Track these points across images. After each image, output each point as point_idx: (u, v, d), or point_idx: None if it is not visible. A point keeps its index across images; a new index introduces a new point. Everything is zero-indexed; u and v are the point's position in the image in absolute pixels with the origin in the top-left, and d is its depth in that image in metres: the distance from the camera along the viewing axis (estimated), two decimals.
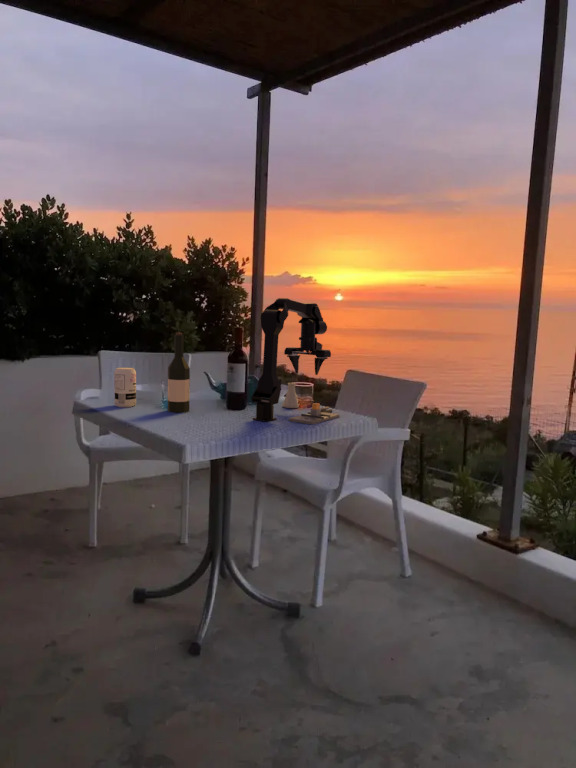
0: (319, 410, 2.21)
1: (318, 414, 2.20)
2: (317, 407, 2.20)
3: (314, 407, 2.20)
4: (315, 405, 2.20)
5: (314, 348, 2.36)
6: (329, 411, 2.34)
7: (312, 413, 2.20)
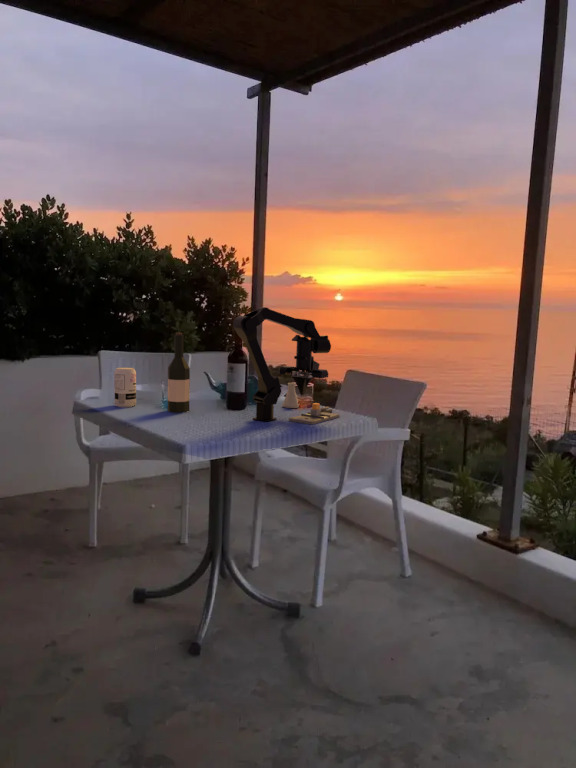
0: (319, 410, 2.21)
1: (318, 414, 2.20)
2: (317, 407, 2.20)
3: (314, 407, 2.20)
4: (315, 405, 2.20)
5: (310, 368, 2.21)
6: (329, 411, 2.34)
7: (312, 413, 2.20)
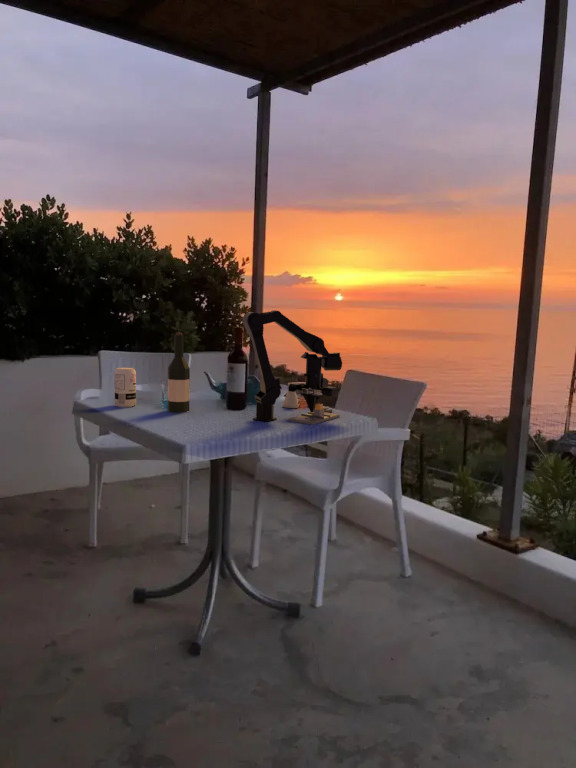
0: (322, 410, 2.20)
1: (321, 414, 2.20)
2: (320, 407, 2.19)
3: (317, 407, 2.19)
4: (318, 405, 2.19)
5: (320, 385, 2.20)
6: (329, 411, 2.34)
7: (315, 413, 2.19)
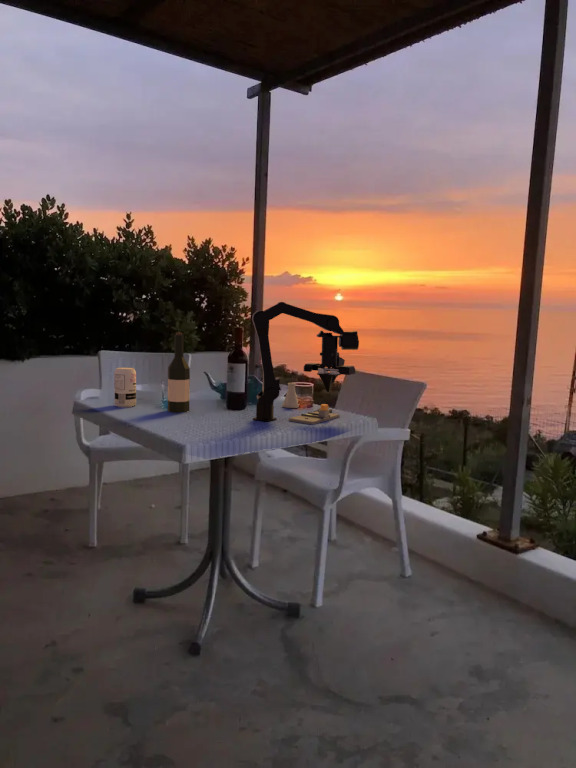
0: (327, 411, 2.19)
1: (326, 415, 2.18)
2: (325, 408, 2.18)
3: (322, 408, 2.18)
4: (323, 406, 2.18)
5: (337, 364, 2.16)
6: (329, 411, 2.34)
7: (320, 414, 2.18)
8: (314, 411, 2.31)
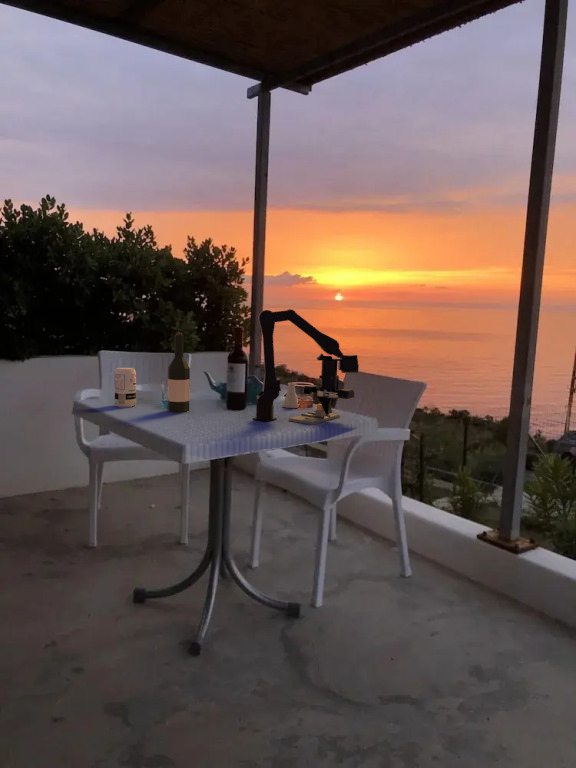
0: (324, 411, 2.20)
1: (323, 415, 2.19)
2: (322, 408, 2.19)
3: (319, 408, 2.19)
4: (320, 406, 2.18)
5: (336, 387, 2.16)
6: None
7: (317, 414, 2.19)
8: (314, 411, 2.31)
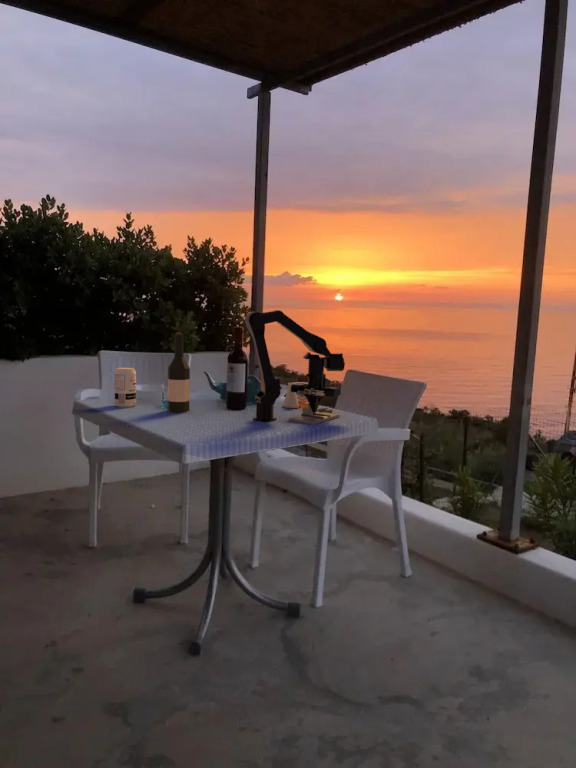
0: (311, 409, 2.23)
1: (310, 413, 2.22)
2: (309, 406, 2.22)
3: (306, 406, 2.22)
4: (307, 404, 2.21)
5: (322, 385, 2.19)
6: (329, 411, 2.34)
7: (304, 412, 2.22)
8: None
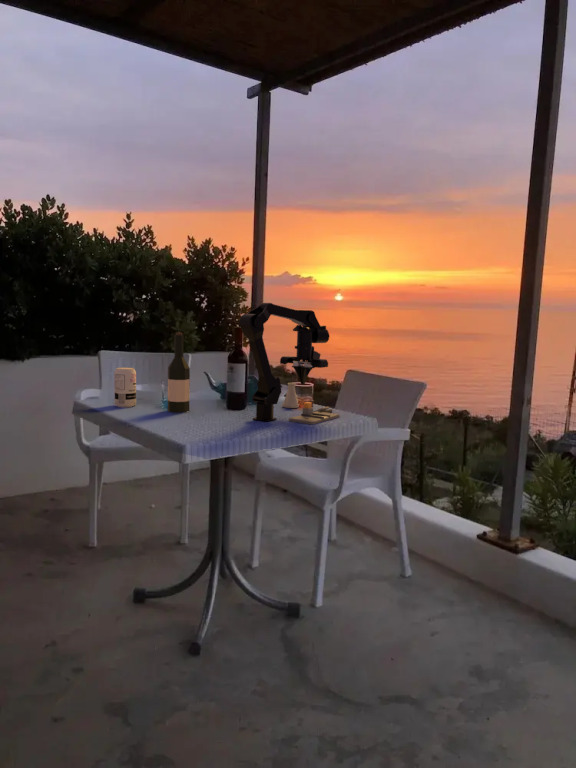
0: (311, 409, 2.23)
1: (310, 413, 2.22)
2: (309, 406, 2.22)
3: (306, 406, 2.22)
4: (307, 404, 2.21)
5: (311, 357, 2.24)
6: (329, 411, 2.34)
7: (304, 412, 2.22)
8: (314, 411, 2.31)
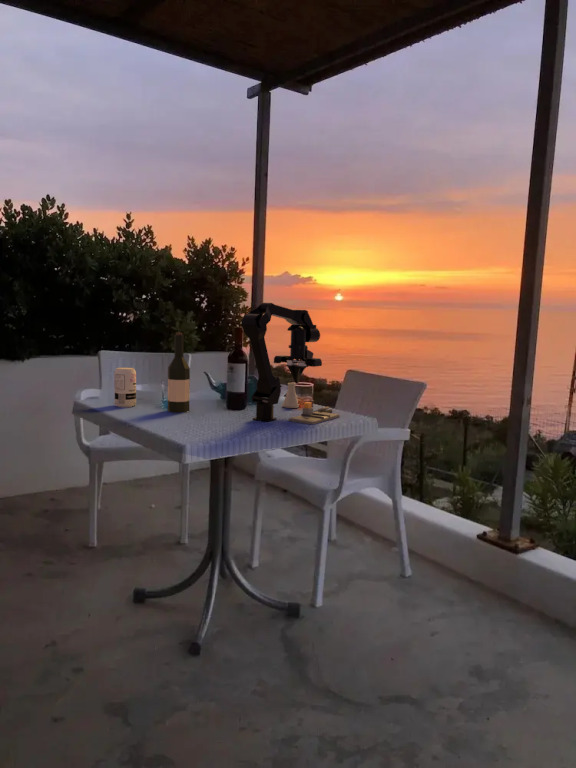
0: (311, 409, 2.23)
1: (310, 413, 2.22)
2: (309, 406, 2.22)
3: (306, 406, 2.22)
4: (307, 404, 2.21)
5: (304, 356, 2.27)
6: (329, 411, 2.34)
7: (304, 412, 2.22)
8: (314, 411, 2.31)
